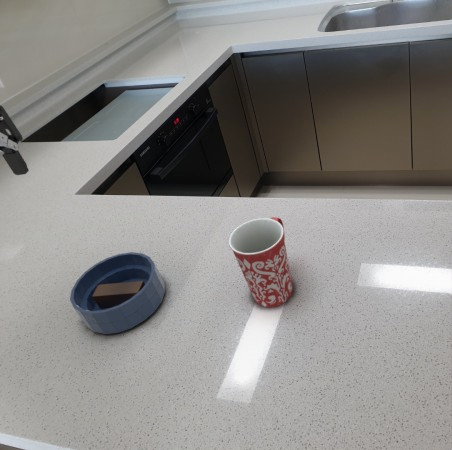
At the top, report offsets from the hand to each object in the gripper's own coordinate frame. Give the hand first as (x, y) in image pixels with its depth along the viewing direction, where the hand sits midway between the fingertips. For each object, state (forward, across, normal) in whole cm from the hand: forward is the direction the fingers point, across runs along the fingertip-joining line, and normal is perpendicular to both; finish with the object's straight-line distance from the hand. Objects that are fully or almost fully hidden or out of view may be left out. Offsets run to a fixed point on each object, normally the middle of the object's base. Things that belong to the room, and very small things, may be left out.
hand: (7, 188), depth 69 cm
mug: (+28, -3, +36) cm, 46 cm away
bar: (+28, -2, +6) cm, 28 cm away
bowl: (+28, -2, +6) cm, 29 cm away
